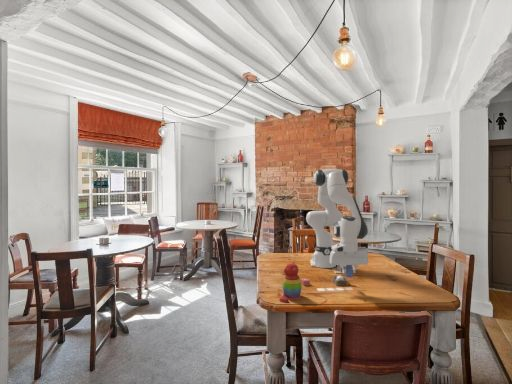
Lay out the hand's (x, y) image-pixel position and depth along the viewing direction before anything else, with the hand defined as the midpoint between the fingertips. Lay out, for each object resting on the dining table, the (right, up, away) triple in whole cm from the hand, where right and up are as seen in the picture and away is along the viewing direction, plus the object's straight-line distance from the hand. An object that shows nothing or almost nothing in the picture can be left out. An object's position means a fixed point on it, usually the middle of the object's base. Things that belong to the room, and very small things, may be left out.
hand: (348, 273), depth 157 cm
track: (-7, -10, 0) cm, 12 cm away
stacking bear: (-32, -10, -10) cm, 35 cm away
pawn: (0, -2, 0) cm, 2 cm away
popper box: (-2, -10, +9) cm, 14 cm away
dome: (-2, -9, +9) cm, 13 cm away
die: (-22, -10, +8) cm, 25 cm away
